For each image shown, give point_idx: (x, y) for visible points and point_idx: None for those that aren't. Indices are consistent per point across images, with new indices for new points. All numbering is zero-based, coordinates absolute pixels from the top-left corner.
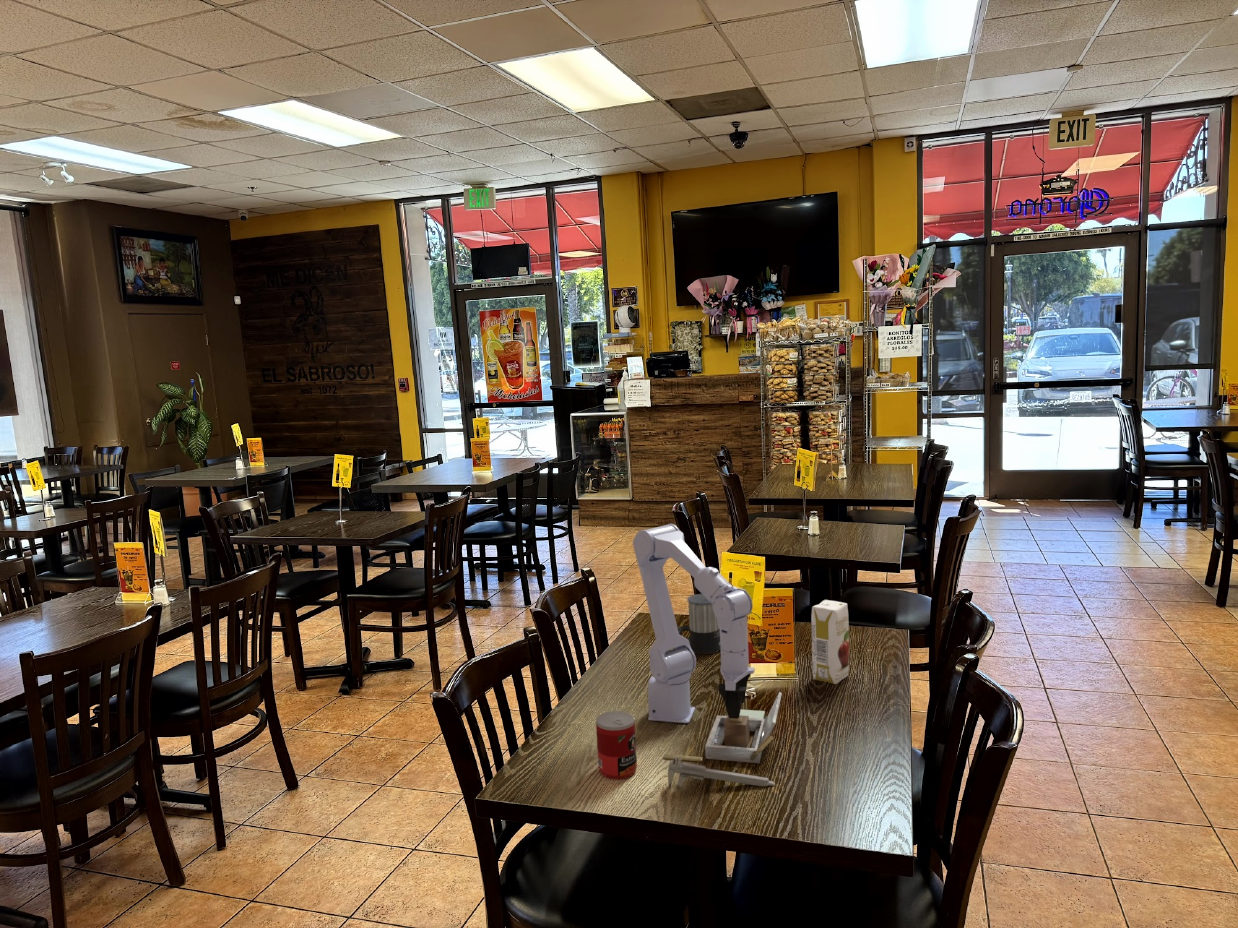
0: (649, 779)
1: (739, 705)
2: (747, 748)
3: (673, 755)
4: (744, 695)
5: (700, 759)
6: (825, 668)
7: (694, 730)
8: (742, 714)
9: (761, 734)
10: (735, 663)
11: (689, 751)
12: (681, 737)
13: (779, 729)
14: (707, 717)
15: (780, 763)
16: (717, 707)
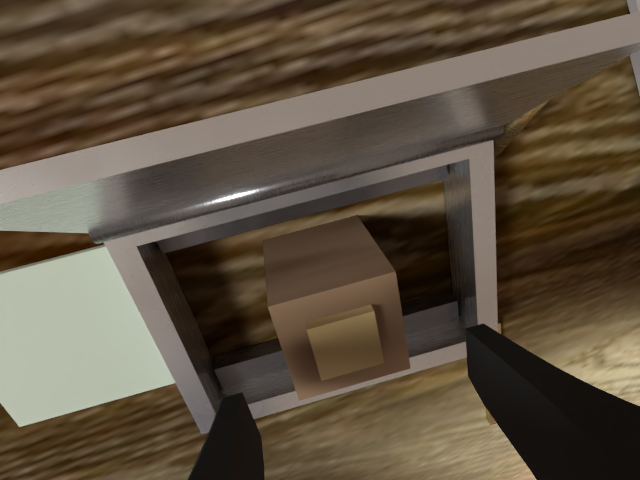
0: (624, 385)
1: (577, 381)
2: (476, 191)
3: None
4: (235, 436)
5: (499, 326)
6: None
7: (280, 435)
8: (39, 364)
9: (344, 175)
10: None
11: (436, 379)
12: (348, 440)
13: (68, 150)
14: (152, 451)
15: (436, 14)
16: (38, 465)
